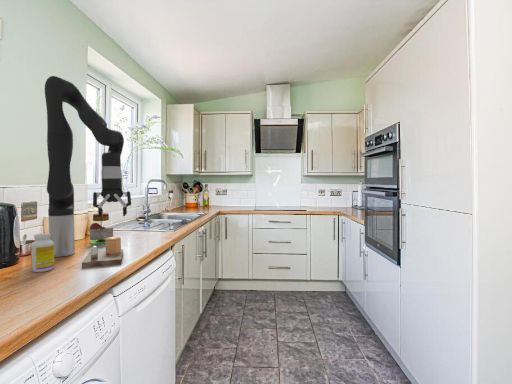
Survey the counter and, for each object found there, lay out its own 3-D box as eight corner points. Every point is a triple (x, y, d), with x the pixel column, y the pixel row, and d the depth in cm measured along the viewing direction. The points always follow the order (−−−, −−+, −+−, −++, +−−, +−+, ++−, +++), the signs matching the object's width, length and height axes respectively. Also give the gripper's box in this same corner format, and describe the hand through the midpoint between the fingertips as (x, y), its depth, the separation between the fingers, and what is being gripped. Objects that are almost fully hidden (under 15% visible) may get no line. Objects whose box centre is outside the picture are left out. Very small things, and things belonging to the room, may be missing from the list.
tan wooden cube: (105, 254, 120) (104, 239, 120) (106, 251, 125) (106, 237, 125) (120, 253, 122) (120, 238, 122) (121, 250, 127) (121, 236, 127)
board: (81, 268, 108) (81, 262, 108) (89, 256, 124) (89, 252, 124) (121, 264, 112) (121, 259, 112) (123, 253, 129) (123, 249, 129)
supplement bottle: (59, 268, 108) (58, 233, 107) (40, 273, 102) (39, 236, 101) (45, 266, 110) (44, 232, 110) (27, 271, 104) (26, 235, 103)
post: (90, 259, 112) (90, 247, 112) (91, 258, 114) (91, 245, 114) (97, 258, 113) (97, 246, 113) (98, 257, 115) (98, 245, 115)
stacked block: (84, 242, 154) (83, 214, 153) (109, 239, 162) (109, 212, 162) (90, 246, 145) (89, 215, 145) (117, 242, 154) (116, 213, 153)
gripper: (91, 177, 116) (92, 218, 117) (130, 177, 122) (131, 216, 122) (93, 178, 123) (94, 216, 124) (130, 177, 129) (131, 214, 129)
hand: (113, 216), depth 123 cm, fingers open, 8 cm apart
